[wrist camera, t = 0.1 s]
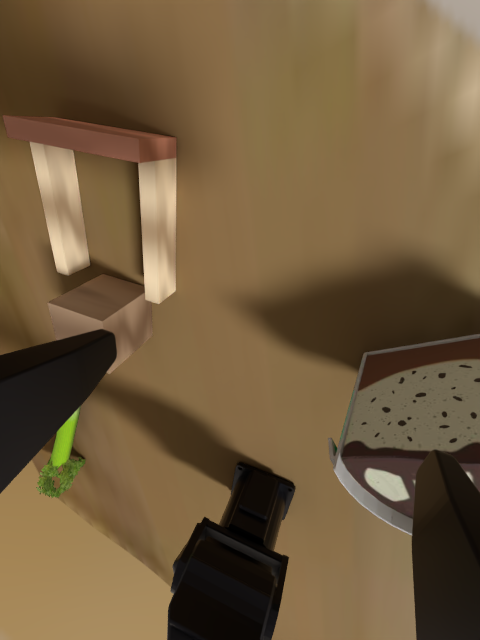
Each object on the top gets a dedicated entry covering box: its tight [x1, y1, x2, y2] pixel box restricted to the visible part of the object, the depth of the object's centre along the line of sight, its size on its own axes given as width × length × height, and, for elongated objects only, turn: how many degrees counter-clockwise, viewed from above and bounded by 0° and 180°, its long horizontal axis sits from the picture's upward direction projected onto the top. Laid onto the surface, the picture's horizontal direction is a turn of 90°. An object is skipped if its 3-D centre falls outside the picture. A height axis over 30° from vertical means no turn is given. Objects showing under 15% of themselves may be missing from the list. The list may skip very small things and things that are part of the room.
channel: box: [3, 115, 177, 304], centre depth 23 cm, size 11×10×4 cm
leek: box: [36, 406, 86, 498], centre depth 42 cm, size 6×7×30 cm
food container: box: [328, 334, 480, 535], centre depth 18 cm, size 12×6×10 cm, turn 117°
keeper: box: [47, 274, 153, 374], centre depth 27 cm, size 5×5×6 cm
